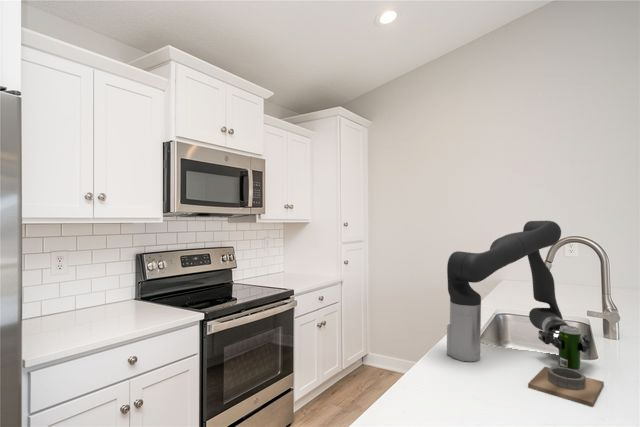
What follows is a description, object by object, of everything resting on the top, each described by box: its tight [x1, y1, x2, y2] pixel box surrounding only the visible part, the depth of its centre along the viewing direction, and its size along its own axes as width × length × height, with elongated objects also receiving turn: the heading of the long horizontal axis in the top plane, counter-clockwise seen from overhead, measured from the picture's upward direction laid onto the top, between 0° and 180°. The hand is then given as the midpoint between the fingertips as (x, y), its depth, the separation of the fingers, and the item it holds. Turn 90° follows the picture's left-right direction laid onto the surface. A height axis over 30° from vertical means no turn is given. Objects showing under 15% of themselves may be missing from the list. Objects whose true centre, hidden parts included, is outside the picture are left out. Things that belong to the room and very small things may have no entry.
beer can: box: [558, 325, 582, 372], centre depth 113 cm, size 5×5×12 cm
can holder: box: [527, 366, 605, 408], centre depth 101 cm, size 14×16×4 cm
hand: (572, 347), depth 110 cm, fingers closed on beer can, 5 cm apart
